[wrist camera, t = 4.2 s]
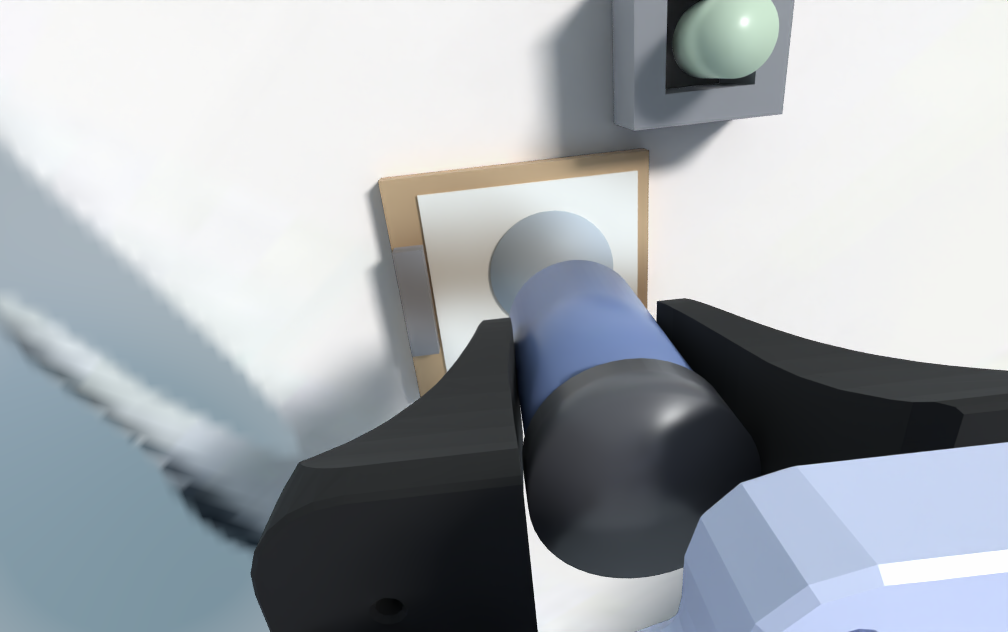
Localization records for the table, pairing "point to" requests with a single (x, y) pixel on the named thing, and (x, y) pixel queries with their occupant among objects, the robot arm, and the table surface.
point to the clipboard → (506, 239)
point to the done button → (725, 37)
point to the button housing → (656, 107)
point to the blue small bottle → (616, 426)
